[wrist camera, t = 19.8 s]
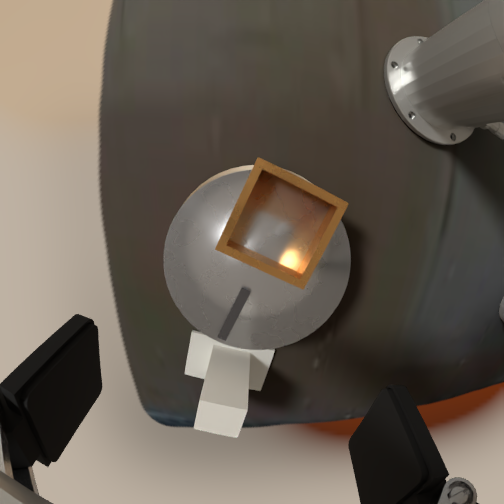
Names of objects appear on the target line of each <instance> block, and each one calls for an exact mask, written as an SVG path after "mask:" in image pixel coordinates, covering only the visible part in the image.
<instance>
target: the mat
mask: <svg viewBox="0 0 504 504" xmlns="http://www.w3.org/2000/svg"><path fill="white" fill-rule="evenodd" d="M213 345H218V346H222V347H227V348H231V349H236V350H240V351H245V352H249V353H250V370H249V389H252V390H257V391H261V388H262V386H263V383H264V380H265V377H266V375H267V372H268V369H269V366H270V363H271V361H272V358H273V355H274V352H275V349H266V350H249V349H241V348H236V347H232V346H228V345H226V344H223V343H220V342H218V341H216V340H214V339H212V338H210V337H208V336H207V335H205V334H203V333H202V332H199V331H195V330H193V331H192V334H191V340H190V345H189V351H188V357H187V362H186V368H185V374H186V375H190V376H194V377H198V378H202V379H205V376H206V373H207V369H208V365H209V361H210V357H211V353H212V349H213Z"/></svg>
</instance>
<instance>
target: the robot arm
mask: <svg viewBox="0 0 504 504" xmlns="http://www.w3.org/2000/svg"><path fill="white" fill-rule="evenodd" d="M384 79H385V85H386V89H387V92H388V95H389V98H390V100H391V102H392V104H393V106H394V108H395V110H396V111H397V113H398V114H399V116H400V117H401V119H402V120H403V121H404V122H405V123H406V124H407V125H408V127H409V128H410V129H412V130H413V131H414V132H415V133H416V134H418V135H419V136H421V137H422V138H424V139H425V140H427V141H430V142H432V143H435V144H440V145H453V144H457V143H461V142H462V141H464V140H466V139H467V138H468V137H469V136H470V135H471V134H472V133H473V131H474V129H475V128H478V127H480V128H482V129H484V130H486V129H488V130H490V132H492V133H493V134H494V135H496V136H497V137H498V138H500V139H501V140H504V123H502V122H504V0H484V1H483V2H481V3H480V4H478V5H476V6H475V7H473V8H472V9H470V10H469V11H467V12H466V13H464V14H463V15H461V16H460V17H458V18H457V19H455V20H454V21H452V22H451V23H450V24H448V25H447V26H445V27H444V28H442V29H441V30H440V31H438V32H437V33H435V34H434V35H433V36H431V37H430V38H426V37H420V36H413V37H407V38H405V39H402V40H400V41H399V42H398V43H397V44H395V45H394V46H393V47H392V49H391V50H390V51H389V53H388V55H387V57H386V60H385V65H384ZM409 116H410V118H409ZM101 390H102V378H101V369H100V356H99V341H98V328H97V326H96V325H94V321H93V320H92V319H89V318H87V317H84V316H82V315H79V314H76V315H74V316H73V317H72V318H71V319H70V320H69V321H68V322H66V323H65V324H64V325H63V326H62V327H61V328H59V329H58V330H57V331H56V332H55V333H54V334H53V335H52V336H51V337H49V338H48V339H47V340H46V341H45V342H44V343H43V344H42V345H40V346H39V347H38V348H37V349H36V350H35V351H34V352H33V353H32V354H31V355H30V356H29V357H27V358H26V359H25V361H23V362H22V363H21V364H20V365H19V366H18V367H17V368H16V369H15V370H14V371H13V372H12V373H11V374H10V375H9V376H8V377H7V378H6V379H5V380H4V381H3V382H2V383H1V384H0V504H53V503H51V502H49V501H48V500H46V499H44V498H42V497H41V496H39V493H38V489H37V485H36V482H35V478H34V474H33V470H32V466H33V464H34V462H35V461H36V460H37V461H39V462H40V463H42V464H44V465H45V466H49V465H50V463H51V462H56V461H57V460H58V459H59V457H60V455H61V454H62V452H63V451H64V449H65V447H66V446H67V444H68V443H69V441H70V440H71V438H72V436H73V435H74V433H75V432H76V430H77V429H78V427H79V425H80V424H81V422H82V421H83V419H84V418H85V416H86V415H87V413H88V412H89V410H90V409H91V407H92V405H93V404H94V403H95V401H96V400H97V398H98V397H99V395H100V393H101ZM349 451H350V455H351V460H352V464H353V469H354V474H355V478H356V483H357V487H358V492H359V497H360V502H361V504H478V503H477V502H476V501H477V493H476V490H475V488H474V486H473V485H472V484H471V483H470V482H469V481H468V480H466V479H464V478H460V477H455V478H452V479H450V480H449V481H447V482H446V480H445V478H446V477H447V476H448V475H449V473H448V471H447V469H446V467H445V464H444V462H443V460H442V458H441V456H440V453H439V451H438V449H437V447H436V445H435V443H434V441H433V439H432V437H431V435H430V433H429V430H428V429H427V426H426V424H425V422H424V420H423V418H422V417H421V414H420V413H419V411H418V409H417V407H416V405H415V403H414V401H413V399H412V397H411V395H410V393H409V391H408V390H407V388H406V387H405V386H403V385H388V386H387V387H386V388H385V389H383V390H382V391H381V392H380V394H379V395H378V397H377V398H376V400H375V402H374V403H373V405H372V407H371V408H370V410H369V411H368V413H367V414H366V416H365V417H364V419H363V420H362V422H361V423H360V425H359V426H358V428H357V429H356V431H355V432H354V434H353V435H352V436H351V438H350V440H349Z"/></svg>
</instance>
